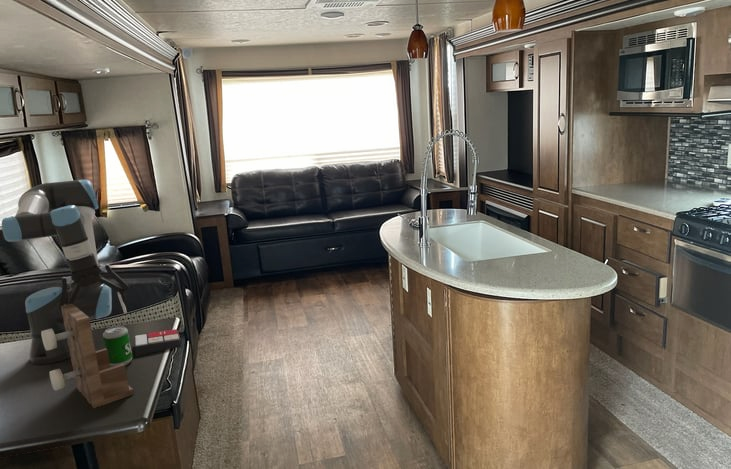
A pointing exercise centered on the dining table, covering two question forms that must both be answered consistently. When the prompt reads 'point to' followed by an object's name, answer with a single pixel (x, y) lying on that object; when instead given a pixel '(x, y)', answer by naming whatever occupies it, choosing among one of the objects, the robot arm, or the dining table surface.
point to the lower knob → (62, 378)
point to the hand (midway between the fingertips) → (102, 319)
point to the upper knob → (54, 338)
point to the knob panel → (93, 362)
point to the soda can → (118, 345)
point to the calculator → (156, 342)
